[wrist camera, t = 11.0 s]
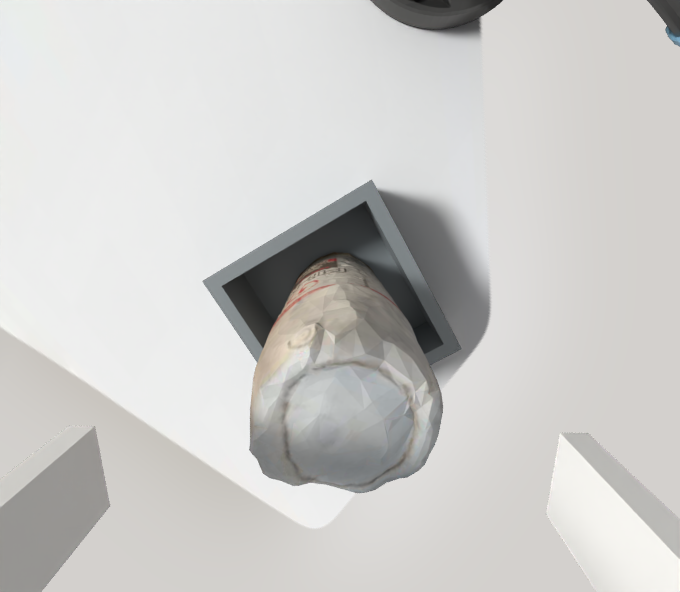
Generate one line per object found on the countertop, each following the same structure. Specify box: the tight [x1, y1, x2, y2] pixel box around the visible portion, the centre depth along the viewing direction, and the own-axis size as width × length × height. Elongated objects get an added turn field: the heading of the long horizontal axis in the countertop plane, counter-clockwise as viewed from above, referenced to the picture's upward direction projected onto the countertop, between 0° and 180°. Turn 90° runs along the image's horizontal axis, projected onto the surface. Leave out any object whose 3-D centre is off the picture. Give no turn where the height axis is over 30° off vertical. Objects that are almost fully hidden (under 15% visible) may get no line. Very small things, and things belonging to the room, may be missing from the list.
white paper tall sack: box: [249, 252, 443, 493], centre depth 22 cm, size 8×8×20 cm
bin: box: [203, 180, 462, 365], centre depth 29 cm, size 14×14×6 cm
